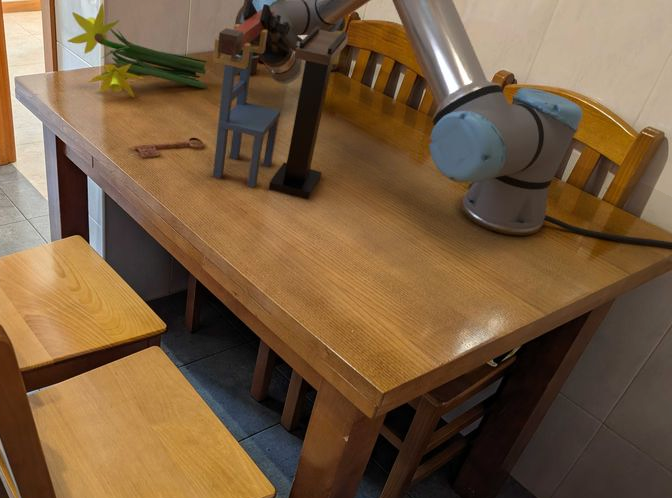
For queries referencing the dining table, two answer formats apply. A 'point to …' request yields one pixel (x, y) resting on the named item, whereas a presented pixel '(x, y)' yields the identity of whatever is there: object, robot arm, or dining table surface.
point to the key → (153, 146)
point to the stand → (308, 112)
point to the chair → (243, 112)
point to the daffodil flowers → (135, 58)
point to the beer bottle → (255, 55)
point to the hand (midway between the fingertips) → (255, 10)
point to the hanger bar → (240, 35)
